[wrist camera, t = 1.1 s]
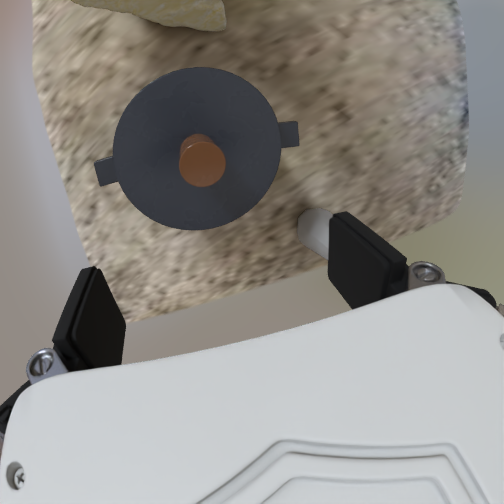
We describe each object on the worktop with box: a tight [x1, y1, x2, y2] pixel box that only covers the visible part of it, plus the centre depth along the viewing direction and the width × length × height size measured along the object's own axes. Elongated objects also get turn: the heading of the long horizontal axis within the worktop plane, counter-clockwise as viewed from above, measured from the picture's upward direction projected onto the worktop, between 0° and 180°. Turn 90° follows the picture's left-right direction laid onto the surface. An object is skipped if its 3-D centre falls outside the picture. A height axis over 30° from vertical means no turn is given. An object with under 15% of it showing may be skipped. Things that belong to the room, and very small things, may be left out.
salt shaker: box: [297, 208, 333, 260], centre depth 35 cm, size 6×6×13 cm
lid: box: [113, 67, 281, 230], centre depth 20 cm, size 15×15×7 cm
